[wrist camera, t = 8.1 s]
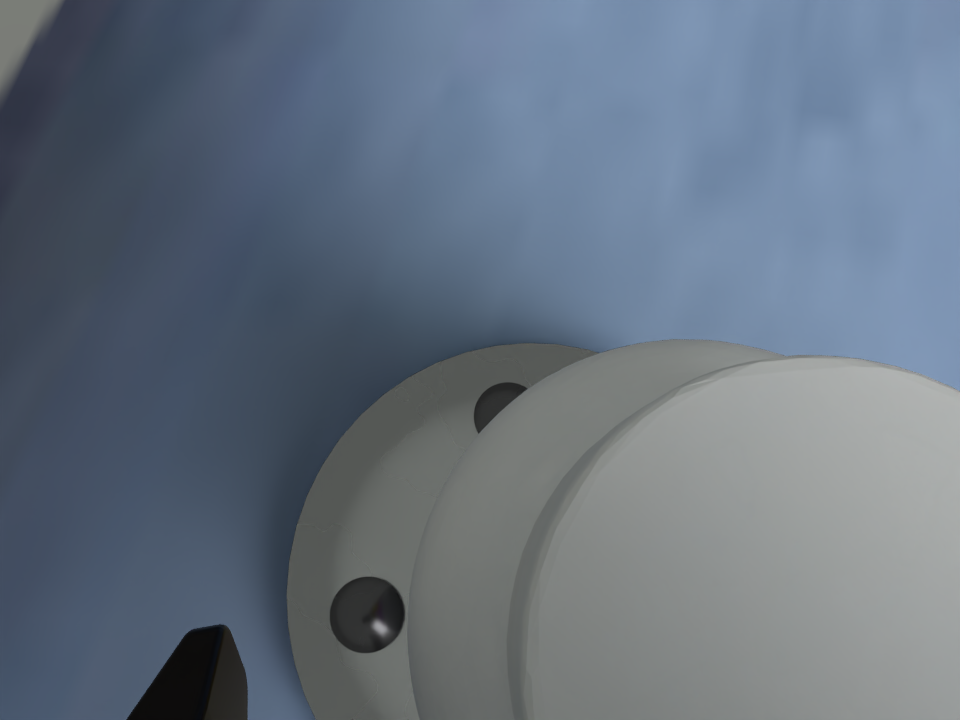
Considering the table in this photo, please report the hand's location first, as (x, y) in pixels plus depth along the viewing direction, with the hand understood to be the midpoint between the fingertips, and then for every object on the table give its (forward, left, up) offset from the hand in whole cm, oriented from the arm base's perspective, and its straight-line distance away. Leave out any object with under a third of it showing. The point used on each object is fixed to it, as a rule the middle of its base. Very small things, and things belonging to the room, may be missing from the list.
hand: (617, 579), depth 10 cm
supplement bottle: (-1, 0, -9) cm, 9 cm away
